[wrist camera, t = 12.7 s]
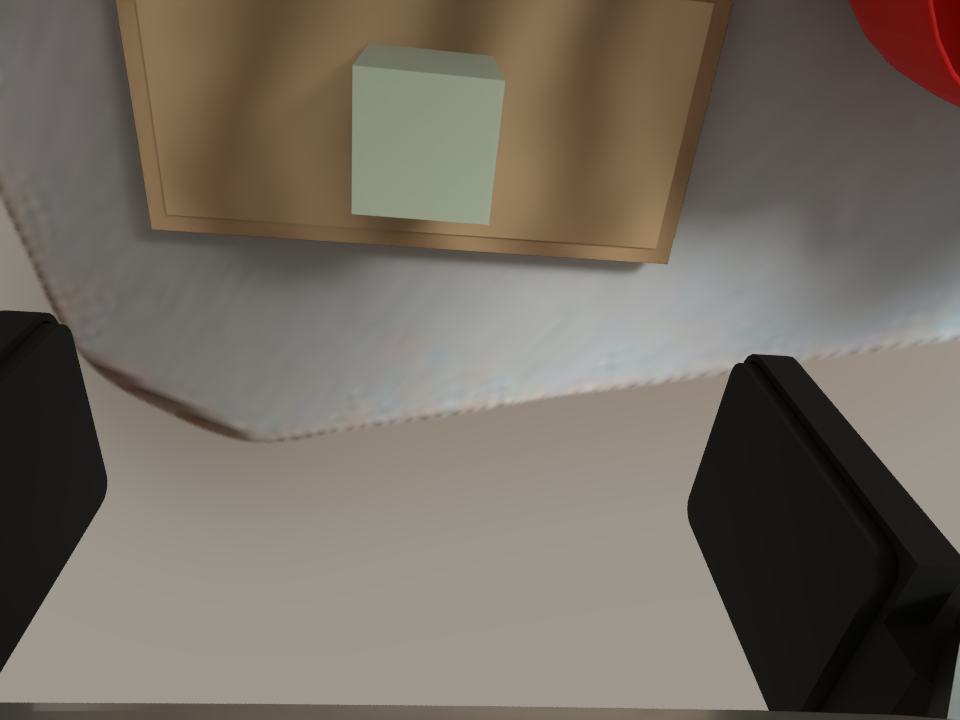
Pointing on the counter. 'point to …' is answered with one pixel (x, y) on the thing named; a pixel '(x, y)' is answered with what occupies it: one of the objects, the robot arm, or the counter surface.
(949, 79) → the ceramic cup
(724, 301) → the counter surface
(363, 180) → the sage block
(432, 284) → the counter surface
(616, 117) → the cutting board
